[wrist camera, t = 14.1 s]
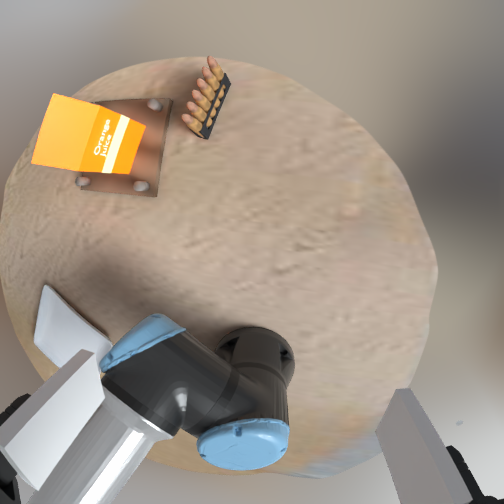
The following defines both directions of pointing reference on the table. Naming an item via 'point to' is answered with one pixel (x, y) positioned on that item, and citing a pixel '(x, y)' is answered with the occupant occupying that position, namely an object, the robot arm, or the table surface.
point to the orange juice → (86, 137)
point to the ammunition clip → (207, 99)
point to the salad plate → (66, 331)
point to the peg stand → (147, 155)
